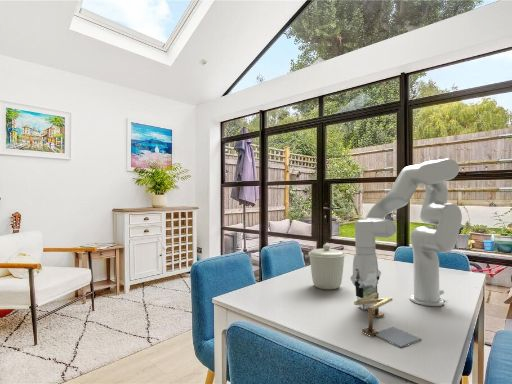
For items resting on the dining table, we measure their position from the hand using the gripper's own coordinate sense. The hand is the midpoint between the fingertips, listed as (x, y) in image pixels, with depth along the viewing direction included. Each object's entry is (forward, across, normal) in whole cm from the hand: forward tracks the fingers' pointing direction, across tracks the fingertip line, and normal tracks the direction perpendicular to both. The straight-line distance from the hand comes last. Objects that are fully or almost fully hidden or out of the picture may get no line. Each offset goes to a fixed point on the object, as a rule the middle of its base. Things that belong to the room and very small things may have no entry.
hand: (366, 294), depth 122 cm
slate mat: (+5, +12, +22) cm, 25 cm away
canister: (+6, -6, -30) cm, 31 cm away
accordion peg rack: (+5, +10, +11) cm, 16 cm away
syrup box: (+5, 0, 0) cm, 5 cm away
